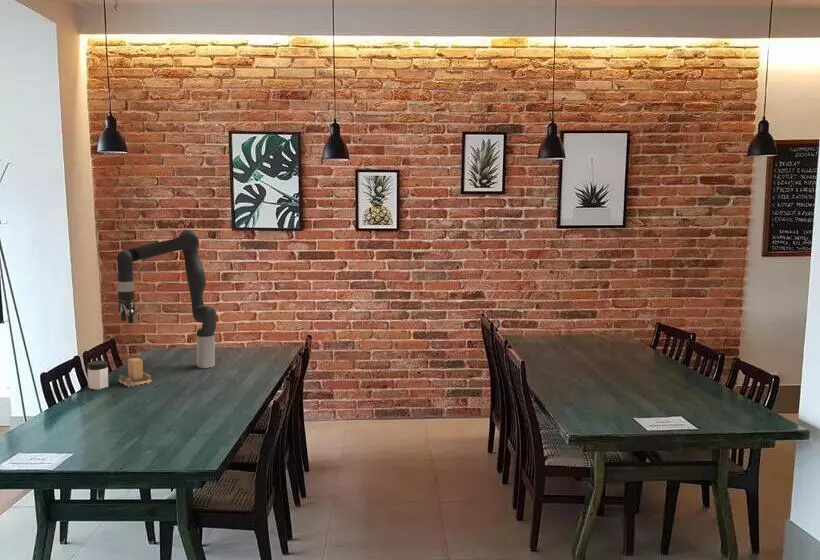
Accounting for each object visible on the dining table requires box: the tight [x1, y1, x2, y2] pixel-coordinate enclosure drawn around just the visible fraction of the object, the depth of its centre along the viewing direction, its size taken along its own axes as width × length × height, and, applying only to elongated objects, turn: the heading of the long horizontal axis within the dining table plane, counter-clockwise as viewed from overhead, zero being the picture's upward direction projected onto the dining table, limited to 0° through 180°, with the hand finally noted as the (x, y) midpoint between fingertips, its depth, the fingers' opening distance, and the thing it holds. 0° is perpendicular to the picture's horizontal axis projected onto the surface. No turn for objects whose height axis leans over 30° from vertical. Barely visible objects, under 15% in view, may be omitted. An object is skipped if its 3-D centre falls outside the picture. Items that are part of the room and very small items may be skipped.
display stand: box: [118, 371, 153, 388], centre depth 286 cm, size 11×11×4 cm
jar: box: [87, 360, 109, 390], centre depth 277 cm, size 9×8×12 cm
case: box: [127, 357, 144, 381], centre depth 286 cm, size 6×4×10 cm
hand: (127, 321), depth 295 cm, fingers open, 8 cm apart
